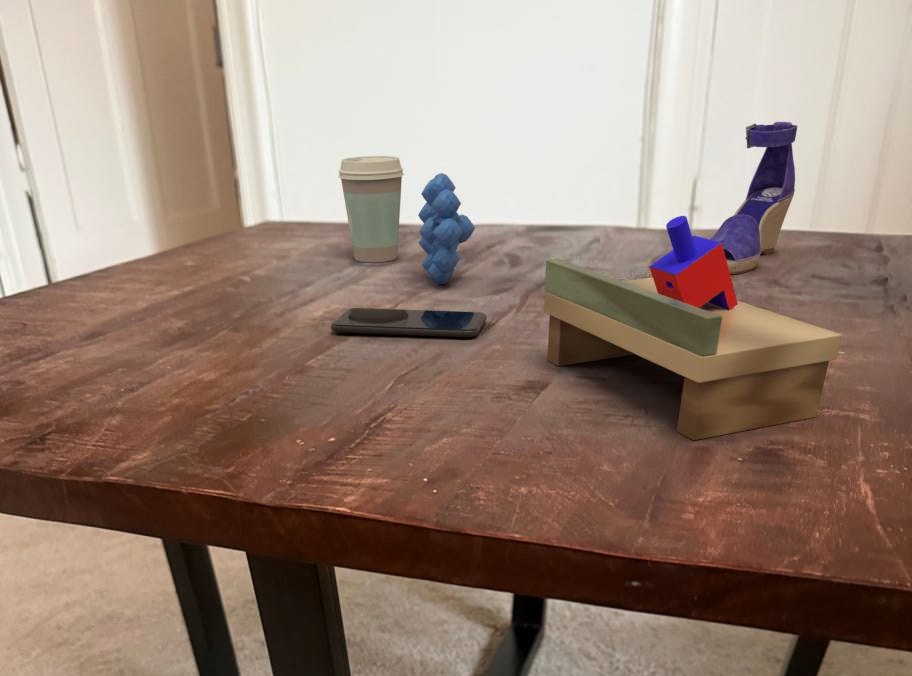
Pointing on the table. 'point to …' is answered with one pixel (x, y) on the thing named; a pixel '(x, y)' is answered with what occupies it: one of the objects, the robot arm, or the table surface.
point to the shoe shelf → (693, 348)
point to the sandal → (761, 199)
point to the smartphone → (410, 322)
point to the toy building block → (693, 269)
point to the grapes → (442, 228)
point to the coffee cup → (373, 205)
